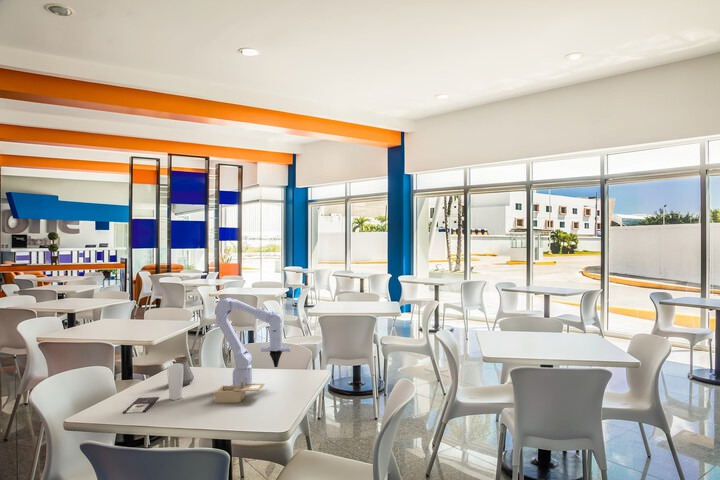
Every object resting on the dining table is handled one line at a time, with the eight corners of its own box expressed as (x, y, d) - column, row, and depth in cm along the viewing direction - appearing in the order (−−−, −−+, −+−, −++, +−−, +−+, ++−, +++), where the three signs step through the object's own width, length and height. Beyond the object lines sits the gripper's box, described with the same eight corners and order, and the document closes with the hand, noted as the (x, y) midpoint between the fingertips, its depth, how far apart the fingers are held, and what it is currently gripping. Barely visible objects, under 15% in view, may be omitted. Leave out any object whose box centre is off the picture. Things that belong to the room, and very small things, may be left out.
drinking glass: (187, 397, 213) (186, 364, 213) (175, 401, 207) (175, 367, 207) (176, 395, 216) (175, 362, 216) (164, 399, 210) (163, 366, 210)
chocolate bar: (159, 396, 212) (145, 411, 194) (159, 399, 212) (145, 413, 194) (138, 397, 211) (122, 412, 193) (138, 400, 211) (122, 414, 193)
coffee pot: (173, 381, 239) (172, 351, 239) (196, 380, 240) (196, 350, 240) (159, 394, 217) (159, 362, 218) (185, 393, 219) (185, 361, 219)
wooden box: (215, 402, 205) (214, 391, 205) (222, 396, 214) (222, 385, 214) (239, 402, 204) (239, 391, 204) (245, 396, 213) (245, 385, 213)
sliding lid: (233, 391, 204) (233, 383, 204) (239, 384, 214) (239, 377, 214) (259, 391, 204) (258, 383, 204) (264, 384, 213) (264, 377, 213)
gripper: (258, 340, 225) (259, 368, 224) (288, 340, 224) (289, 368, 224) (262, 337, 232) (263, 364, 232) (291, 337, 231) (292, 364, 231)
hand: (276, 366), depth 228 cm, fingers closed
